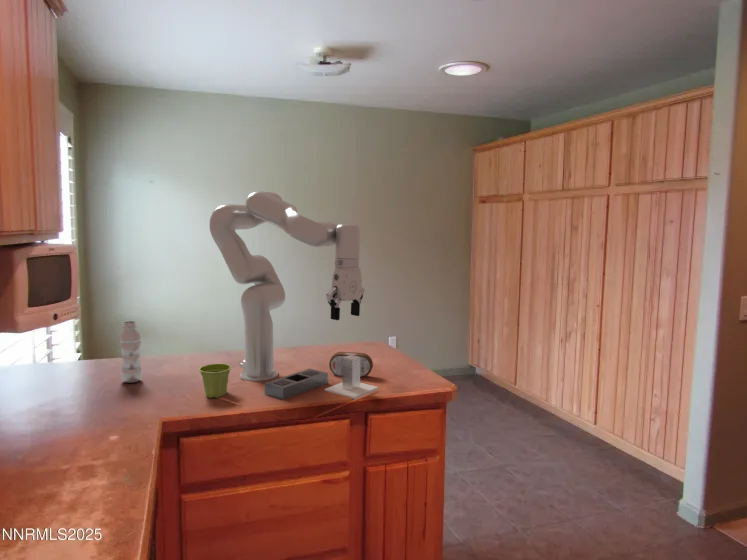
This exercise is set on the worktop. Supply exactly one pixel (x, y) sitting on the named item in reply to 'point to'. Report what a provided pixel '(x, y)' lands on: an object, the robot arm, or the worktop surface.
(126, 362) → the plastic bottle
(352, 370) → the steel block
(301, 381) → the grey compartment holder
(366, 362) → the tin
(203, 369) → the plant pot
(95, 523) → the worktop surface
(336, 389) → the pad
